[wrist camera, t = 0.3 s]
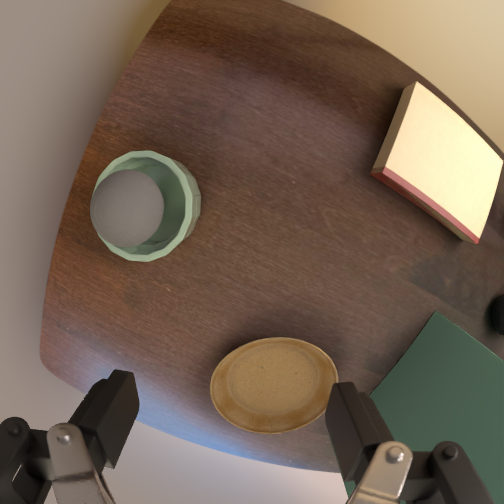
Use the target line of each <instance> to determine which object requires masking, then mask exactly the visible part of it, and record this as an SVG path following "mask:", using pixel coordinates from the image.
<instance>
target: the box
mask: <svg viewBox="0 0 504 504" xmlns="http://www.w3.org/2000/svg"><path fill="white" fill-rule="evenodd" d="M369 397H370V398H372V399H373V401H374V403H375V405H376V406H377V410H379V412H380V414H381V416H382V417H383V419H384V421H385V423H386V425H387V427H388V428H389V430H390V432H391V434H392V436H393V438H394V440H395V441H398V442H402V443H404V444H406V445H407V446H408V447H409V448H410V449H411V451H432V450H433V449H434V447H435V446H436V445H437V444H438V443H440V442H443V441H452V442H455V443H457V444H459V445H460V446H461V447H462V448H463V449H464V451H465V453H466V454H467V456H468V457H469V459H470V461H471V462H472V464H473V466H474V467H475V469H476V471H477V472H478V474H479V476H480V478H481V479H482V481H483V483H484V484H485V486H486V488H487V490H488V492H489V493H490V495H491V497H492V499H493V501H494V502H495V504H504V361H503V360H502V359H501V358H499V357H498V356H497V355H496V354H494V353H493V352H492V351H490V350H489V349H488V348H486V347H485V346H484V345H483V344H481V343H480V342H479V341H477V340H476V339H475V338H473V337H472V336H471V335H469V334H468V333H467V332H465V331H464V330H462V329H461V328H460V327H458V326H457V325H456V324H454V323H453V322H451V321H450V320H449V319H447V318H446V317H444V316H443V315H442V314H440V313H439V312H437V311H435V312H434V313H433V315H432V316H431V318H430V319H429V321H428V322H427V324H426V325H425V327H424V328H423V329H422V331H421V332H420V334H419V335H418V336H417V338H416V339H415V341H414V342H413V343H412V345H411V346H410V347H409V349H408V350H407V351H406V352H405V354H404V355H403V356H402V358H401V359H400V360H399V361H398V363H397V364H396V365H395V366H394V367H393V369H392V370H391V371H390V372H389V373H388V375H387V376H386V377H385V378H384V379H383V380H382V382H381V383H380V384H379V385H378V386H377V387H376V388H375V390H374V391H373V392H372V393H371V394H370V395H369ZM329 436H330V435H329ZM330 439H331V438H330ZM331 443H332V441H331ZM332 446H333V444H332ZM333 449H334V447H333ZM334 452H335V451H334ZM335 455H336V454H335ZM336 459H337V457H336ZM337 462H338V460H337ZM338 465H339V463H338ZM339 468H340V467H339ZM340 472H341V470H340ZM341 475H342V473H341ZM342 478H343V477H342ZM343 481H344V480H343ZM344 485H345V488H346V491H347V495H348V498H349V497H350V495H351V493H352V491H353V490H354V488H355V486H356V485H355V482H354V481H349V482H344ZM400 504H406V502H405V501H400Z"/></svg>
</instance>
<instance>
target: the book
mask: <svg viewBox="0 0 504 504" xmlns="http://www.w3.org/2000/svg"><path fill="white" fill-rule="evenodd" d="M502 164H503V161H502V160H501V158H500V157H499V156H498V155H497V154H496V153H495V152H494V151H493V150H492V148H491V147H490V146H489V145H488V144H487V143H486V142H485V141H484V140H483V139H482V138H481V137H480V136H479V135H478V134H477V133H476V132H475V131H474V130H473V129H472V128H471V127H470V126H469V125H468V124H467V123H466V122H465V121H464V120H463V119H462V118H461V117H459V116H458V115H457V114H456V113H455V112H454V111H453V110H452V109H451V108H449V107H448V106H447V105H446V104H445V103H444V102H442V101H441V100H440V99H439V98H437V97H436V96H435V95H434V94H433V93H431V92H430V91H429V90H427V89H426V88H425V87H424V86H422V85H421V84H420V83H418V82H417V81H416V82H414V83H413V84H411V85H409V86H407V87H406V88H404V90H403V93H402V96H401V98H400V101H399V104H398V106H397V109H396V112H395V114H394V117H393V120H392V122H391V125H390V127H389V130H388V132H387V135H386V137H385V140H384V142H383V145H382V147H381V150H380V152H379V154H378V157H377V159H376V161H375V164H374V166H373V168H372V170H371V172H370V175H371V176H373V177H375V178H376V179H378V180H379V181H381V182H383V183H384V184H386V185H387V186H389V187H390V188H392V189H393V190H395V191H396V192H398V193H399V194H401V195H402V196H404V197H405V198H407V199H408V200H410V201H411V202H413V203H414V204H415V205H417V206H418V207H420V208H421V209H423V210H424V211H425V212H427V213H428V214H429V215H431V216H432V217H433V218H435V219H436V220H438V221H439V222H440V223H441V224H443V225H444V226H445V227H447V228H448V229H449V230H451V231H452V232H453V233H454V234H456V235H457V236H458V237H459V238H461V239H462V240H464V241H467V242H470V243H474V244H477V245H478V242H479V240H480V236H481V234H482V231H483V228H484V225H485V223H486V220H487V217H488V214H489V211H490V208H491V204H492V201H493V198H494V195H495V191H496V188H497V184H498V180H499V176H500V172H501V168H502Z"/></svg>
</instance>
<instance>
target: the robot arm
mask: <svg viewBox="0 0 504 504" xmlns="http://www.w3.org/2000/svg"><path fill="white" fill-rule="evenodd" d="M138 411H139V397H138V393H137V388H136V383H135V378H134V374H133V373H132V372H128V371H122V370H117V369H115V370H114V371H113V372H112V373H111V375H110V376H109V378H108V379H101V380H100V381H98V382H97V383H95V384H94V385H93V386H92V388H91V389H90V390H89V392H88V394H87V395H86V396H85V398H84V400H83V401H82V402H81V403H80V405H79V407H78V408H77V409H76V411H75V412H74V414H73V415H72V417H71V418H70V420H69V421H68V423H59V424H56V425H54V426H52V427H51V428H50V429H49V431H43V430H35V429H30V427H29V425H28V424H27V422H26V421H25V420H24V419H22V418H19V417H11V418H7V419H6V420H4V421H3V422H2V423H1V424H0V504H44V501H45V499H46V497H47V494H48V492H49V490H50V488H51V486H53V490H54V493H55V497H56V500H57V503H58V504H116V503H115V501H114V498H113V497H112V494H111V492H110V490H109V488H108V486H107V483H106V481H105V479H104V476H103V474H102V471H103V468H104V466H105V467H109V468H112V469H114V468H115V466H116V463H117V461H118V459H119V456H120V454H121V451H122V449H123V447H124V444H125V442H126V440H127V437H128V435H129V433H130V430H131V428H132V426H133V423H134V421H135V419H136V417H137V414H138ZM325 420H326V425H327V428H328V431H329V435H330V438H331V441H332V444H333V447H334V451H335V454H336V457H337V460H338V463H339V467H340V470H341V473H342V477H343V480H344V482H349V481H354V482H355V485H356V486H355V488H354V490H353V491H352V493H351V495H350V497H349V498H348V500H347V502H346V503H345V504H400V501H405V502H406V504H495V502H494V501H493V499H492V497H491V495H490V493H489V492H488V490H487V488H486V486H485V484H484V483H483V481H482V479H481V478H480V476H479V474H478V472H477V471H476V469H475V467H474V466H473V464H472V462H471V461H470V459H469V457H468V456H467V454H466V453H465V451H464V449H463V448H462V447H461V446H460V445H459V444H457V443H455V442H452V441H443V442H440V443H438V444H437V445H436V446H435V447H434V449H433V450H432V451H411V449H410V448H409V447H408V446H407V445H406V444H404V443H402V442H398V441H395V440H394V438H393V436H392V434H391V432H390V430H389V428H388V427H387V425H386V423H385V421H384V419H383V417H382V416H381V414H380V412H379V410H377V406H376V405H375V403H374V401H373V399H372V398H370V397H369V396H368V395H367V394H365V393H364V392H362V393H358V391H357V389H356V387H355V385H354V384H353V382H342V383H334V384H333V386H332V389H331V393H330V396H329V400H328V404H327V408H326V413H325ZM20 465H21V467H20V469H19V471H18V473H17V475H16V477H15V478H14V480H13V477H14V475H15V474H16V472H17V470H18V468H19V466H20ZM12 480H13V482H12Z"/></svg>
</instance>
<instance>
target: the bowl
mask: <svg viewBox="0 0 504 504" xmlns="http://www.w3.org/2000/svg"><path fill="white" fill-rule="evenodd" d="M120 170H136V171H139V172H142V173H144V174H146V175H148V176H149V177H150V178H151V179H152V180H153V181H154V182H155V183H156V184H157V186H158V187H159V189H160V191H161V193H162V196H163V197H164V200H165V207H164V213H163V217H162V221H161V223H160V225H159V227H158V229H157V230H156V232H155V233H154V234H153V235H152V236H151V237H150V238H149V239H148V240H146V241H145V242H143V243H141V244H139V245H136V246H133V247H120V246H116V245H113V244H111V243H109V242H107V241H106V240H104V239H103V238H102V237H101V236H100V235H99V234H98V236H99V237H100V238H101V239H102V241H103V242H104V243H105V244H106V245H107V246H108V248H109V249H110V250H111V251H112V252H114V253H116V254H118V255H120V256H122V257H123V258H125V259H127V260H131V261H146V262H148V261H152V260H154V259H157V258H160V257H162V256H165V255H167V254H169V253H170V252H171V251H172V250H174V249H175V248H176V247H177V246H179V245H180V244H181V243H182V242H183V241H184V240H185V239H186V238H187V237H188V236H189V235H190V234H191V233H192V232H193V230H194V227H195V225H196V223H197V221H198V218H199V216H200V205H201V194H200V191H199V189H198V186H197V183H196V180H195V178H194V176H193V175H192V174H191V173H190V172H189V171H188V170H187V169H186V167H185V166H184V165H183V164H181V163H180V162H178V161H175V160H173V159H171V158H168V157H166V156H163V155H161V154H159V153H156V152H154V151H131V152H129V153H127V154H125V155H123V156H121V157H119V158H117V159H115V160H113V161H112V162H111V163H110V164H109V165H108V167H107V168H106V169H105V170H104V171H103V172H102V174H101V175H100V176H99V178H98V181H97V183H96V186H95V189H96V188H97V186H98V185H99V183H100V182H101V181H102V180H103V179H104V178H106V177H107V176H108V175H110V174H112V173H114V172H116V171H120ZM95 189H94V191H95ZM93 194H94V192H93ZM93 194H92V196H93ZM97 233H98V232H97Z"/></svg>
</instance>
